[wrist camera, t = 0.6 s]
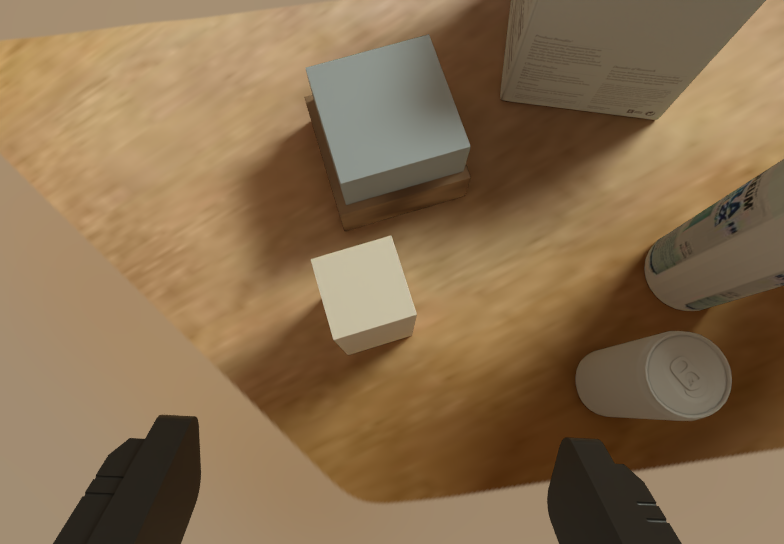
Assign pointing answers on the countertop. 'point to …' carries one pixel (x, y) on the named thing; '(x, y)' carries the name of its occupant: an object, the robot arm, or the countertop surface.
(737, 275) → the spray can
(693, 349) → the beverage can
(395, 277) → the cream block
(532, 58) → the supplement box
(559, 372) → the countertop surface
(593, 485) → the robot arm
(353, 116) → the slate-blue top block
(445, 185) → the walnut base block
